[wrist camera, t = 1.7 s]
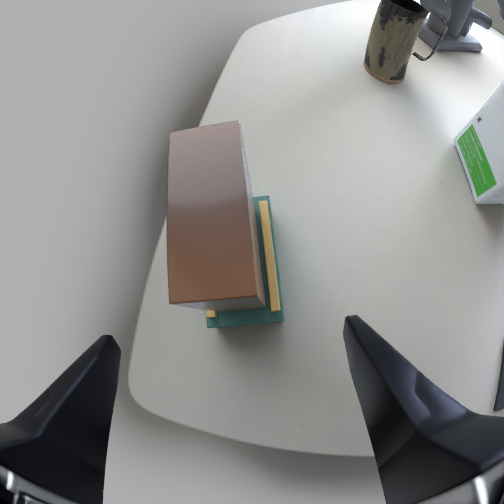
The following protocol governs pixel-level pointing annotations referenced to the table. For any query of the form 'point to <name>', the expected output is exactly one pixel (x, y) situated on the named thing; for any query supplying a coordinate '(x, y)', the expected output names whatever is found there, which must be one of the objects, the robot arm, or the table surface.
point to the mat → (500, 388)
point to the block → (212, 222)
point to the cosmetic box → (485, 150)
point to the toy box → (270, 278)
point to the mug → (396, 38)
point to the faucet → (454, 24)
